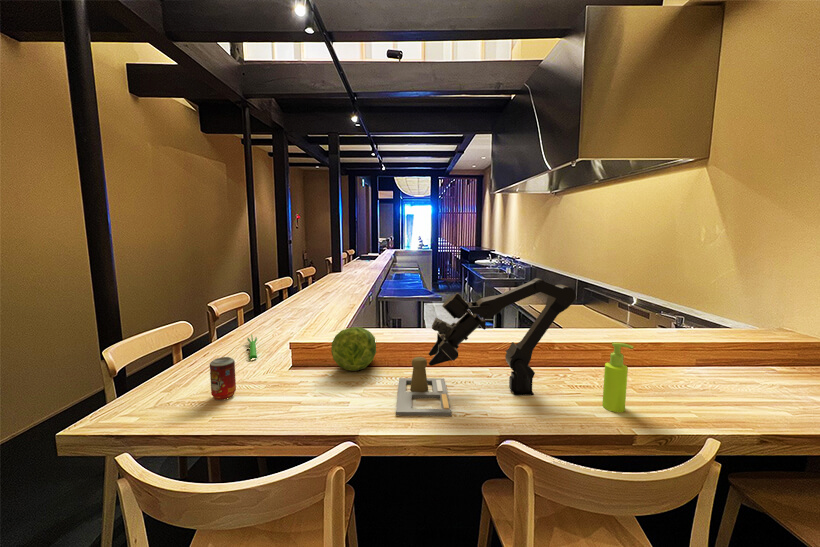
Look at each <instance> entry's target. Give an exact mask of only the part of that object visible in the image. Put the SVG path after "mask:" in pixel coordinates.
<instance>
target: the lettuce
mask: <svg viewBox="0 0 820 547" xmlns="http://www.w3.org/2000/svg"><path fill="white" fill-rule="evenodd" d="M375 339H376V337H375V336H374V334H373V333H372V332H371V331H370V330H368V329H366V328H363V327H362V326H353V327H348V328H345V329H342V330H340V331H339V332H338V333H337V334H336V335H335V337H334V338H333V340H332V342H331V350H330V351H331V352H330V353H331V356H332V358H333V361H334V362H335V364H337V365H338V367H340V368H341V369H343V370H346V371H353V372H354V371H355V372H358V371H360V370H363V369H366V368H367V367H369V365H370V364H371V363H372V362H373V360H374V359H375V355H376V353H377V351H376V343H375Z"/></svg>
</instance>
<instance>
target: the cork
mask: <svg viewBox="0 0 820 547" xmlns="http://www.w3.org/2000/svg"><path fill="white" fill-rule="evenodd" d="M411 367H412V375H411V378H412V380H411V384H410V392H429V386H428V385H429V384H427V378H428V377H427V369H426V367H428V361H427V359H426V357H423V356H416V357H413V358H412V360H411Z"/></svg>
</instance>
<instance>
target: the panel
mask: <svg viewBox="0 0 820 547" xmlns="http://www.w3.org/2000/svg"><path fill="white" fill-rule="evenodd" d="M411 380H412V377H399V378H398V387H397V397H396V407H395V408H396V409H395V416H396V415H399V416H398V417H452V408H451V407H452V406H451V403H450V400H449V399H450V397H449V394H448V390H447V385H446V381H445V380H446V379H445V378H443V377H441V378H440V377H439V378H435V377H427V384H428V385H431V390H432V391H427V392H412V391H407V385H411ZM412 399H439V401H440V406H441V408H412V407H413V406H412V404H413V403H412V402H413V401H412Z"/></svg>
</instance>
